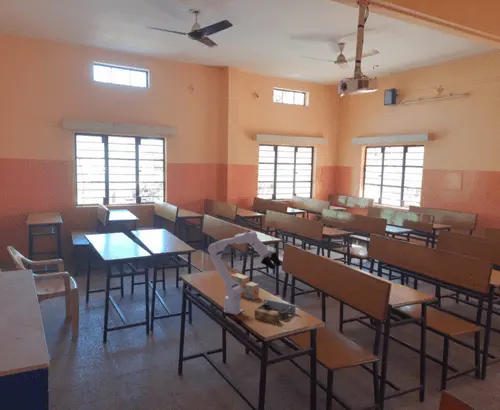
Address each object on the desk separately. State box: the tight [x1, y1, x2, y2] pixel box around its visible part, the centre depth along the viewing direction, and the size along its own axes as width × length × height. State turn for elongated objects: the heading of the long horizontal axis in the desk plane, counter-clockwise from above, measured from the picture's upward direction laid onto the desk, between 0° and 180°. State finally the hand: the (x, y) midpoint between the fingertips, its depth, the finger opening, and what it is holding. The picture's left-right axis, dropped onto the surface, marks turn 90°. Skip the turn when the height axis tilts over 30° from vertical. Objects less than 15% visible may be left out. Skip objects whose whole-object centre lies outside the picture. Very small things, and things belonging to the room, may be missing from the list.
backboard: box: [263, 298, 297, 315], centre depth 234 cm, size 21×5×5 cm, turn 60°
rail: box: [254, 307, 280, 324], centre depth 221 cm, size 14×4×5 cm, turn 59°
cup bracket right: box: [277, 308, 290, 320], centre depth 225 cm, size 4×7×4 cm, turn 150°
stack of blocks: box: [230, 272, 260, 300], centre depth 261 cm, size 21×6×12 cm, turn 44°
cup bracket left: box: [257, 302, 271, 311], centre depth 232 cm, size 4×7×4 cm, turn 150°
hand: (276, 266), depth 214 cm, fingers open, 7 cm apart
